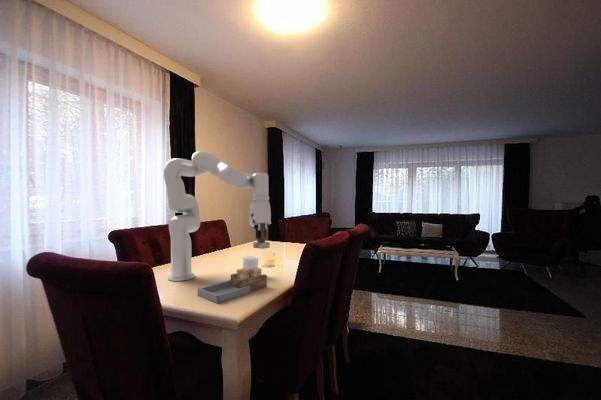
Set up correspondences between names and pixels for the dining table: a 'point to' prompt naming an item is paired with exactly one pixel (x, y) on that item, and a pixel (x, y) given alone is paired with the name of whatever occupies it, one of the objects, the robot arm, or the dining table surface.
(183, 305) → the dining table surface
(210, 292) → the tray
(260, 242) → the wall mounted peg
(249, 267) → the white cup
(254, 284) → the slot block
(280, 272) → the dining table surface
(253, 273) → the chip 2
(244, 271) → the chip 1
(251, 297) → the dining table surface
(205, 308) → the dining table surface
